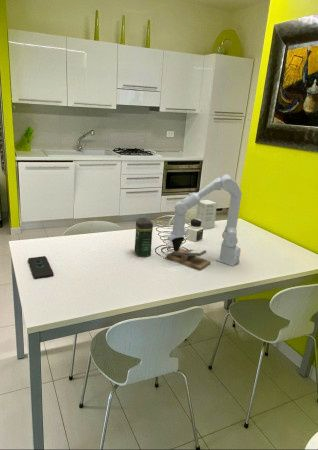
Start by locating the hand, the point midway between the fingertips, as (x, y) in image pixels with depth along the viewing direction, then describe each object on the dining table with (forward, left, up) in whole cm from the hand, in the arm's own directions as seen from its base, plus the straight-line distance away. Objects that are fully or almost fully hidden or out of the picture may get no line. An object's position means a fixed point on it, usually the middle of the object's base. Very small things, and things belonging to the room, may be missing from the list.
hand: (176, 250), depth 175 cm
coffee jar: (+15, +9, -4) cm, 17 cm away
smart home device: (+37, +54, -4) cm, 66 cm away
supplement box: (+14, -54, -4) cm, 56 cm away
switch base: (-7, 0, -4) cm, 8 cm away
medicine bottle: (+7, -29, -4) cm, 30 cm away
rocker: (-7, 0, 0) cm, 7 cm away
